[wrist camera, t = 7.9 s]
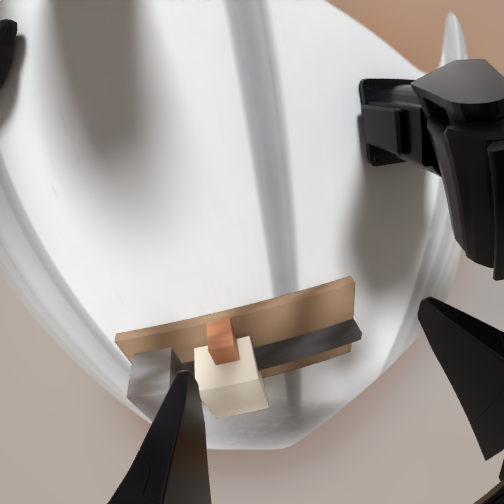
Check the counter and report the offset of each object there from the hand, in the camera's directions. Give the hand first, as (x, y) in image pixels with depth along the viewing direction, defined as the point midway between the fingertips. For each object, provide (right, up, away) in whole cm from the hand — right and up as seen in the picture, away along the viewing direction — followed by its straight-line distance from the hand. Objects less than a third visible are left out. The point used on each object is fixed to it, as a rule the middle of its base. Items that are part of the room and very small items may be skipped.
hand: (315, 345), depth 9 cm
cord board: (-3, -6, +17) cm, 18 cm away
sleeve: (-4, -7, +16) cm, 18 cm away
